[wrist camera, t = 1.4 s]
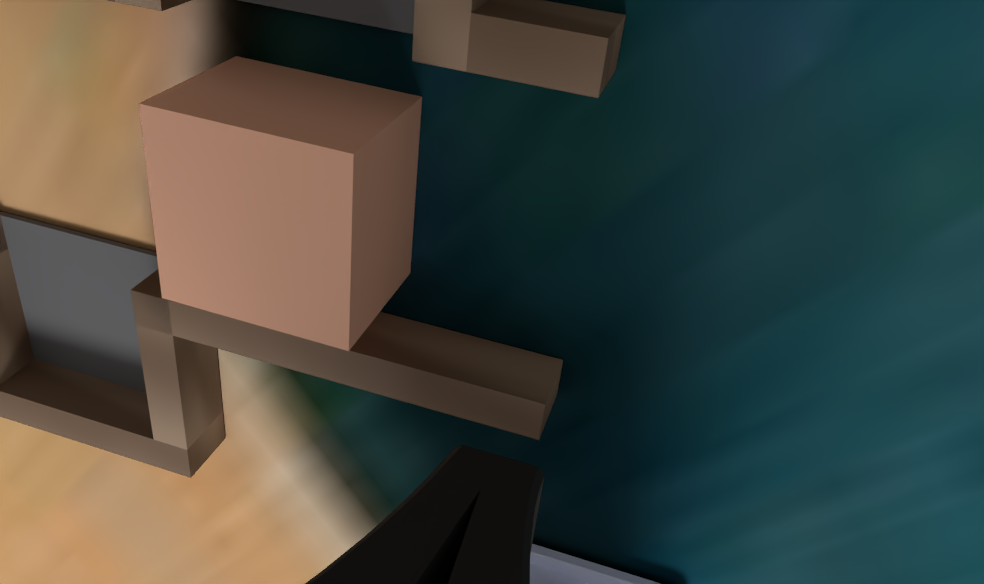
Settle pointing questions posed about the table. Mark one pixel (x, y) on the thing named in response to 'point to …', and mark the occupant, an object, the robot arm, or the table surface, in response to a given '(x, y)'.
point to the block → (282, 196)
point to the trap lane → (198, 333)
